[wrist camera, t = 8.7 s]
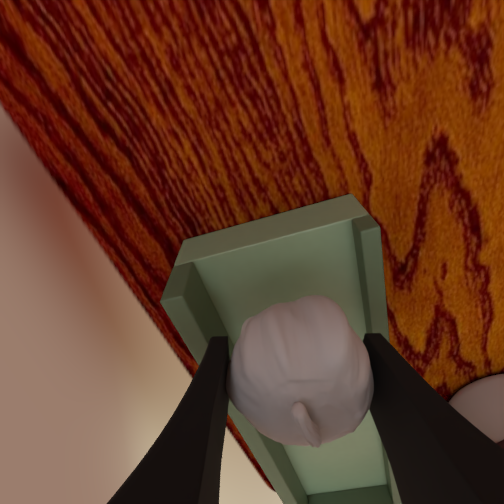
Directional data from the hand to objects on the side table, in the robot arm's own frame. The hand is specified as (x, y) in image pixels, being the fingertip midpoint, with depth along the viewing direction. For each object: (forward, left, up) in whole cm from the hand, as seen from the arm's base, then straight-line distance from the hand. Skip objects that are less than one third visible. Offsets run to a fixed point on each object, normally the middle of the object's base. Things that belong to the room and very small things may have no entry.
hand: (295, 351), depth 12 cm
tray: (+3, -10, -6) cm, 12 cm away
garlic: (0, 0, -2) cm, 2 cm away
